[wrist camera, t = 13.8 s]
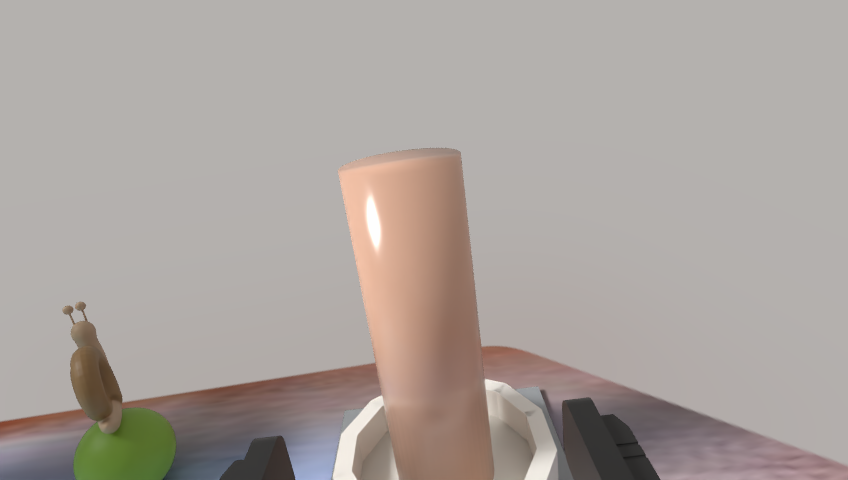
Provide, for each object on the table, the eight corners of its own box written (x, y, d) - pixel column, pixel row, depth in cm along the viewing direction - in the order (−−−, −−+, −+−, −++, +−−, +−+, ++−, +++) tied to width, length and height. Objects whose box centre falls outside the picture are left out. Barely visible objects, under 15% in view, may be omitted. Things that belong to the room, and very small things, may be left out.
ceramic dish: (328, 596, 22) (317, 556, 21) (356, 418, 34) (350, 387, 33) (586, 566, 22) (585, 524, 21) (527, 397, 33) (525, 365, 32)
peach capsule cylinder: (397, 518, 25) (328, 182, 19) (399, 441, 30) (346, 158, 24) (502, 506, 25) (467, 163, 19) (486, 430, 30) (455, 143, 24)
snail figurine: (178, 434, 35) (122, 287, 31) (193, 490, 30) (128, 322, 26) (92, 474, 32) (18, 319, 28) (92, 542, 27) (2, 364, 23)
